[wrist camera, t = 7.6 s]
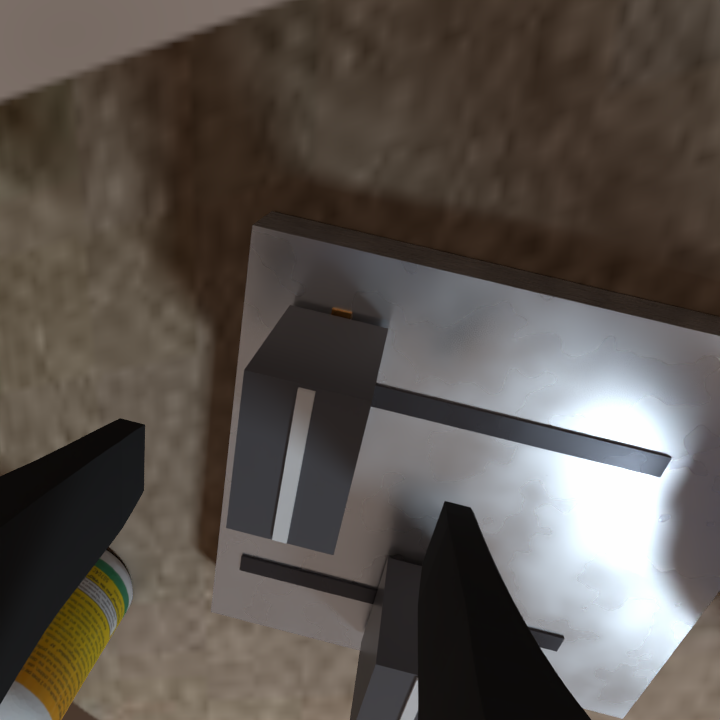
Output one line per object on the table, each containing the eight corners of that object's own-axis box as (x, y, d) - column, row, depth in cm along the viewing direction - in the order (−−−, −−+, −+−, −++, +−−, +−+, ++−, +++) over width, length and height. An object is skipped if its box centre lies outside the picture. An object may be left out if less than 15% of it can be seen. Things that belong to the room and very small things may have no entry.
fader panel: (836, 344, 17) (885, 376, 15) (609, 673, 25) (623, 721, 23) (271, 211, 17) (251, 225, 15) (227, 575, 25) (210, 613, 23)
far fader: (466, 577, 20) (473, 692, 16) (432, 659, 22) (429, 777, 18) (387, 557, 20) (375, 667, 16) (361, 641, 22) (344, 754, 19)
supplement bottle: (105, 626, 28) (-42, 859, 20) (15, 568, 27) (-181, 788, 18) (157, 579, 26) (18, 818, 17) (62, 513, 25) (-136, 735, 16)
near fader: (388, 328, 16) (371, 403, 12) (355, 460, 18) (333, 558, 14) (290, 304, 16) (242, 371, 12) (269, 439, 18) (224, 530, 15)
